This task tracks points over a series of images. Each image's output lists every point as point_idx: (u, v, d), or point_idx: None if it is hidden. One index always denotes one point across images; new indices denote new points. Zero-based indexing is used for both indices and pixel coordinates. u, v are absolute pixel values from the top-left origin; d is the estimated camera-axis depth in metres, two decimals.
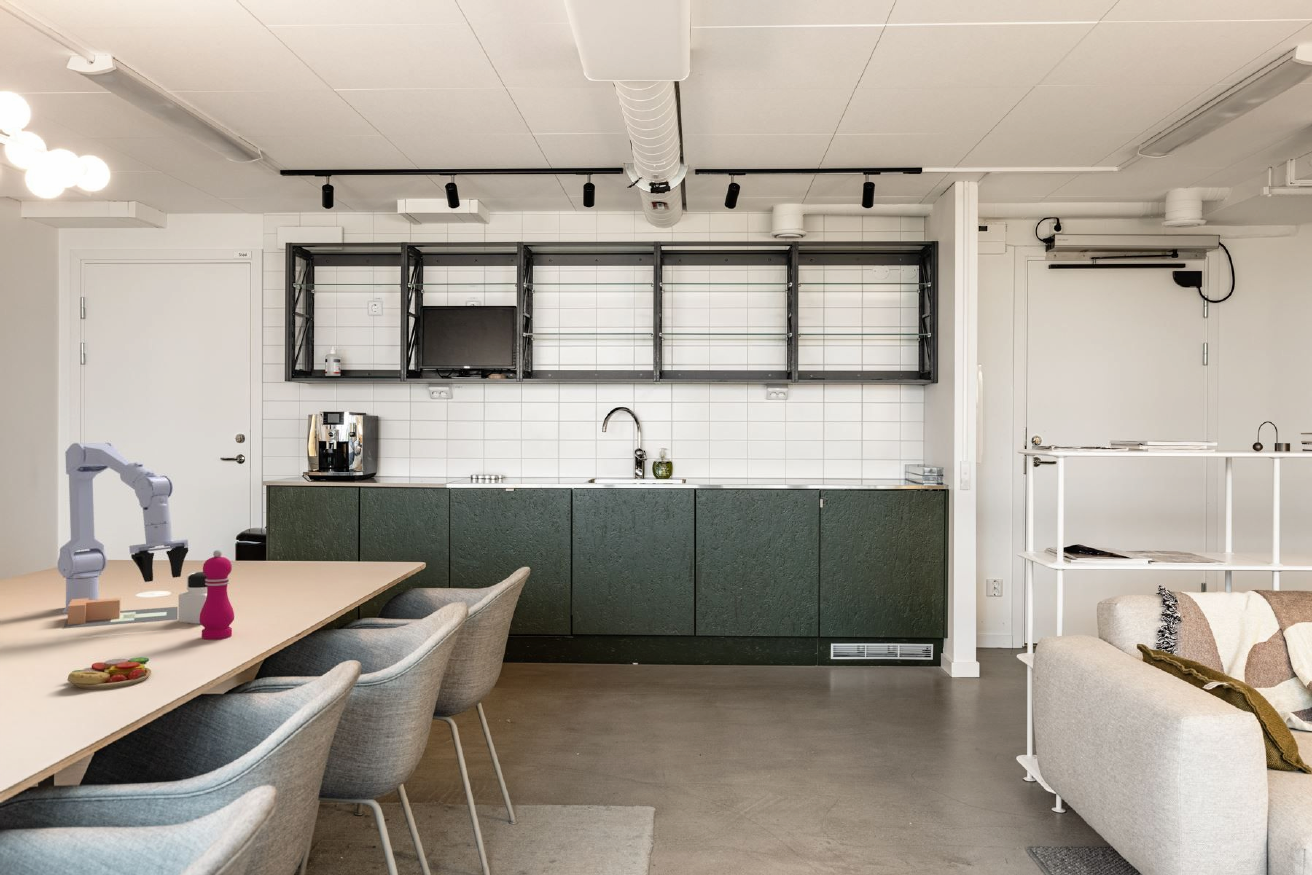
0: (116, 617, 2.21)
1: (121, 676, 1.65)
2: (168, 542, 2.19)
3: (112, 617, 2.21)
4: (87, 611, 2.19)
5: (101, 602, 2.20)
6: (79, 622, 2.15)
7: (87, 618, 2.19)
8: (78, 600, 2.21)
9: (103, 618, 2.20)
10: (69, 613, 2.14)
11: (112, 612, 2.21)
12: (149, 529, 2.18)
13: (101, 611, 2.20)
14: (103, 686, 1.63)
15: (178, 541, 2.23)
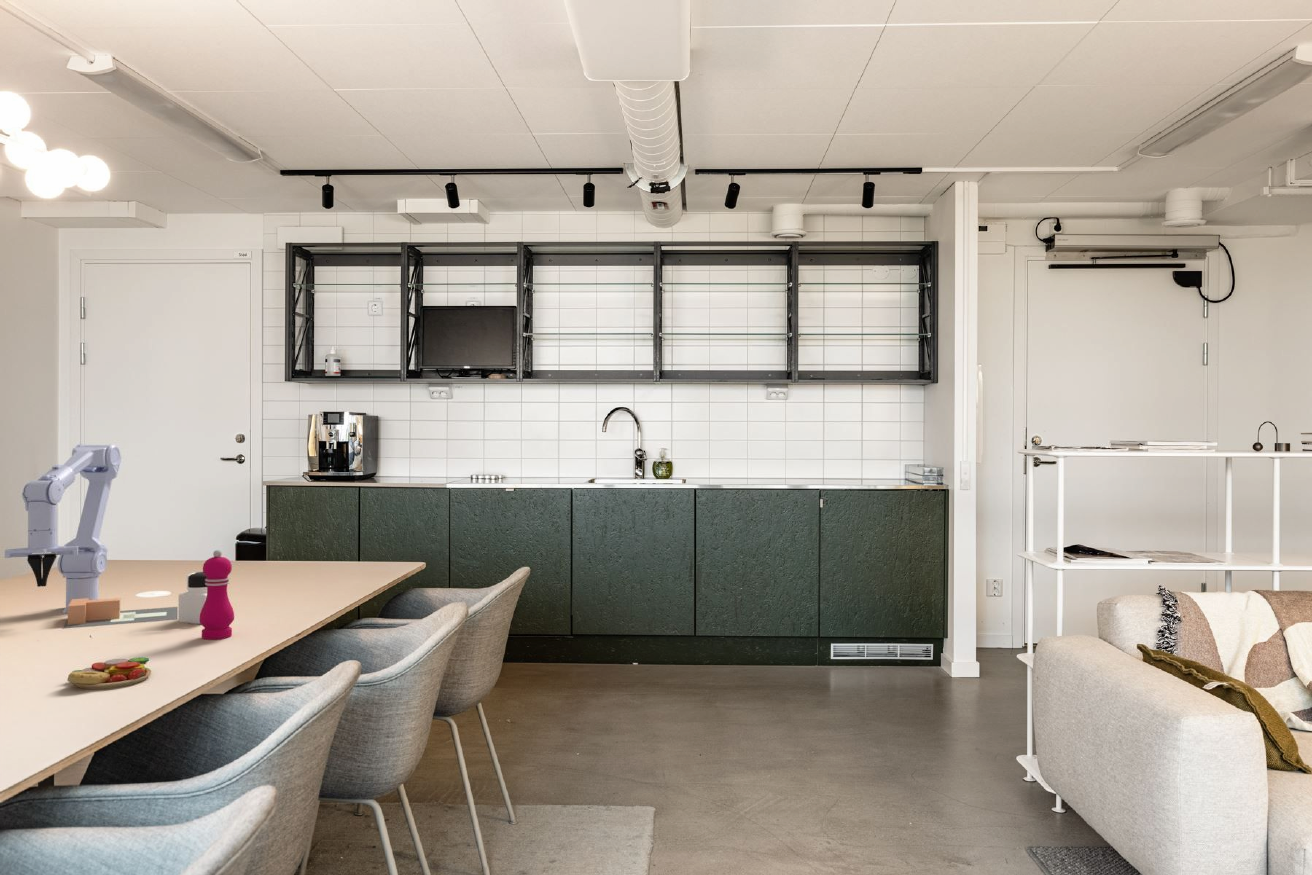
0: (116, 617, 2.21)
1: (121, 676, 1.65)
2: (37, 551, 2.12)
3: (112, 617, 2.21)
4: (87, 611, 2.19)
5: (101, 602, 2.20)
6: (79, 622, 2.15)
7: (87, 618, 2.19)
8: (78, 600, 2.21)
9: (103, 618, 2.20)
10: (69, 613, 2.14)
11: (112, 612, 2.21)
12: (28, 534, 2.14)
13: (101, 611, 2.20)
14: (103, 686, 1.63)
15: (60, 549, 2.16)
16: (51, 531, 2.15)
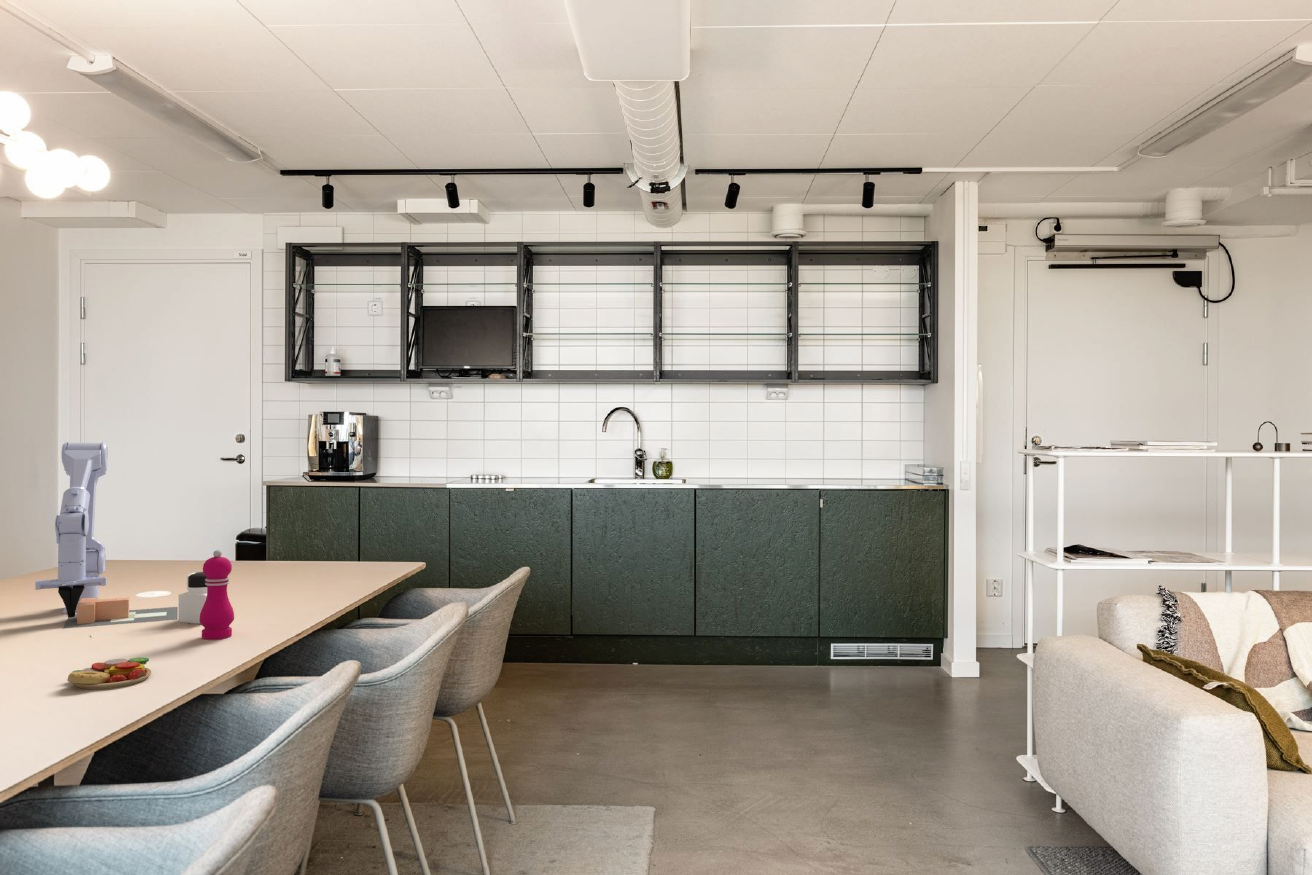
0: (125, 616, 2.22)
1: (121, 676, 1.65)
2: (67, 583, 2.15)
3: (121, 616, 2.22)
4: (96, 610, 2.19)
5: (110, 601, 2.21)
6: (88, 621, 2.16)
7: (96, 617, 2.19)
8: (87, 599, 2.22)
9: (112, 617, 2.21)
10: (78, 612, 2.15)
11: (121, 612, 2.22)
12: (58, 566, 2.17)
13: (110, 610, 2.21)
14: (103, 686, 1.63)
15: (89, 580, 2.19)
16: (80, 563, 2.18)
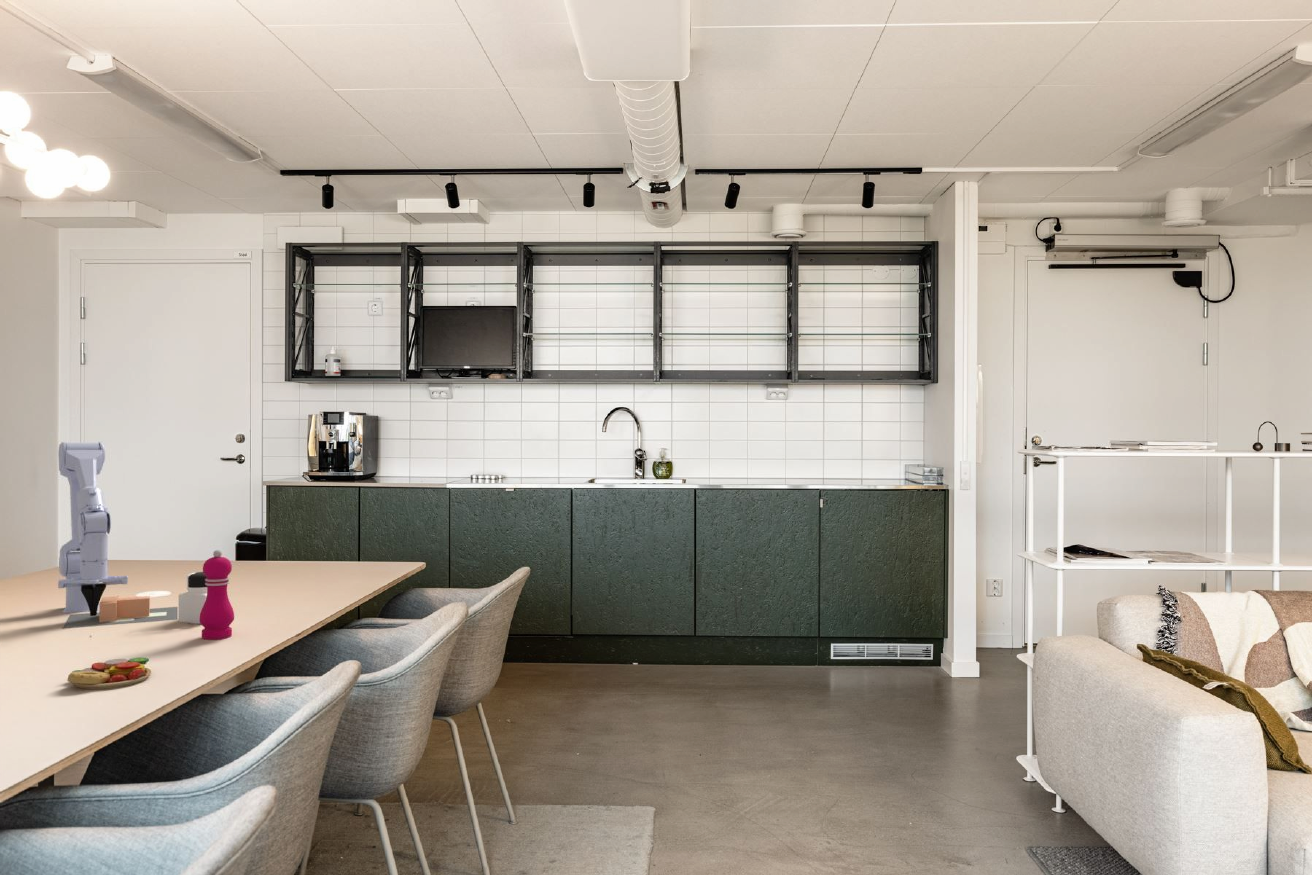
0: (146, 615, 2.24)
1: (121, 676, 1.65)
2: (89, 582, 2.17)
3: (142, 615, 2.24)
4: (118, 609, 2.22)
5: (131, 600, 2.23)
6: (110, 620, 2.18)
7: (118, 616, 2.22)
8: (109, 598, 2.24)
9: (133, 616, 2.23)
10: (101, 611, 2.17)
11: (142, 610, 2.24)
12: (80, 565, 2.19)
13: (131, 609, 2.23)
14: (103, 686, 1.63)
15: (111, 579, 2.21)
16: (103, 561, 2.20)
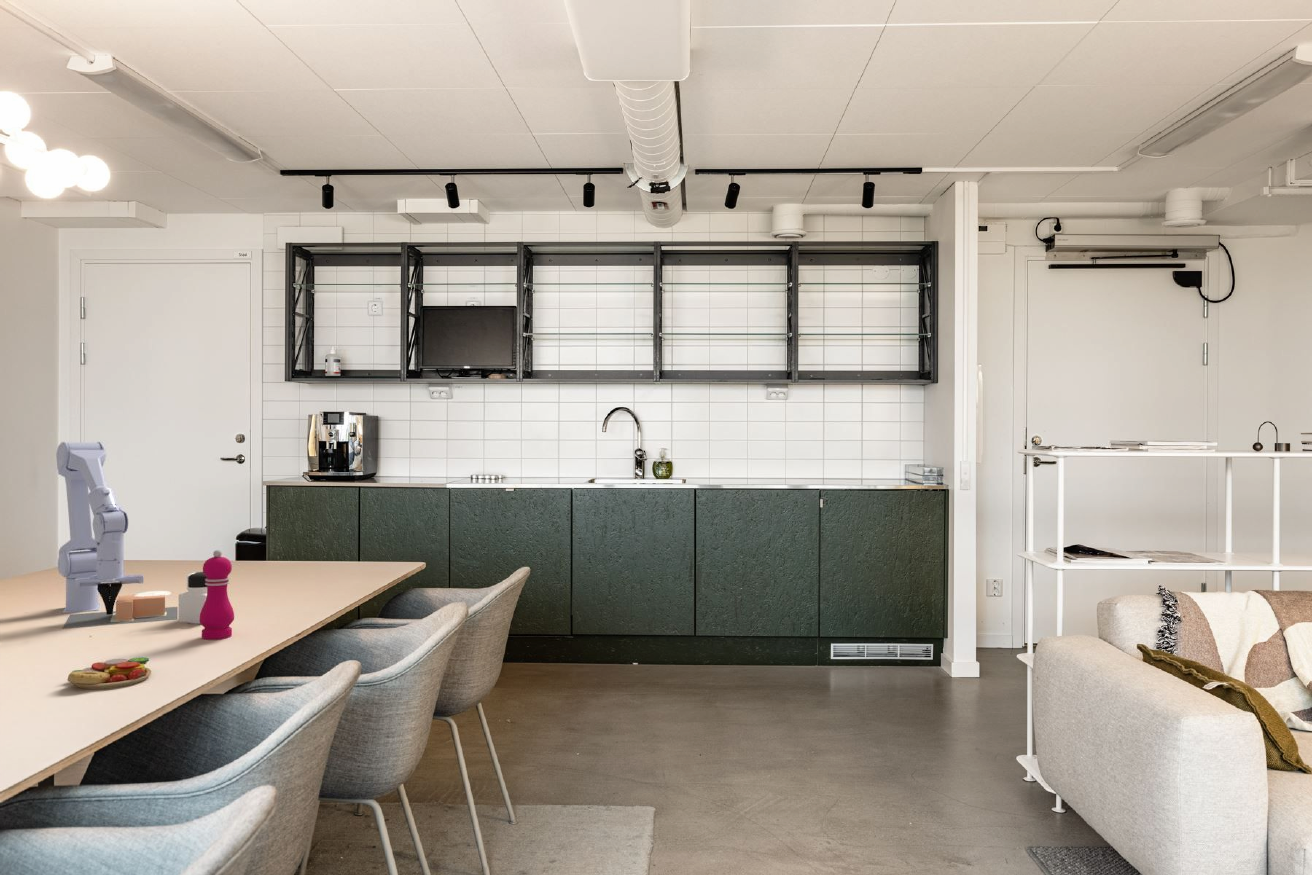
0: (162, 614, 2.26)
1: (121, 676, 1.65)
2: (106, 581, 2.18)
3: (158, 614, 2.26)
4: (134, 608, 2.23)
5: (147, 599, 2.25)
6: (127, 618, 2.20)
7: (134, 614, 2.23)
8: (124, 597, 2.26)
9: (149, 615, 2.25)
10: (117, 609, 2.19)
11: (157, 609, 2.26)
12: (97, 564, 2.20)
13: (147, 608, 2.25)
14: (103, 686, 1.63)
15: (127, 578, 2.22)
16: (119, 561, 2.21)
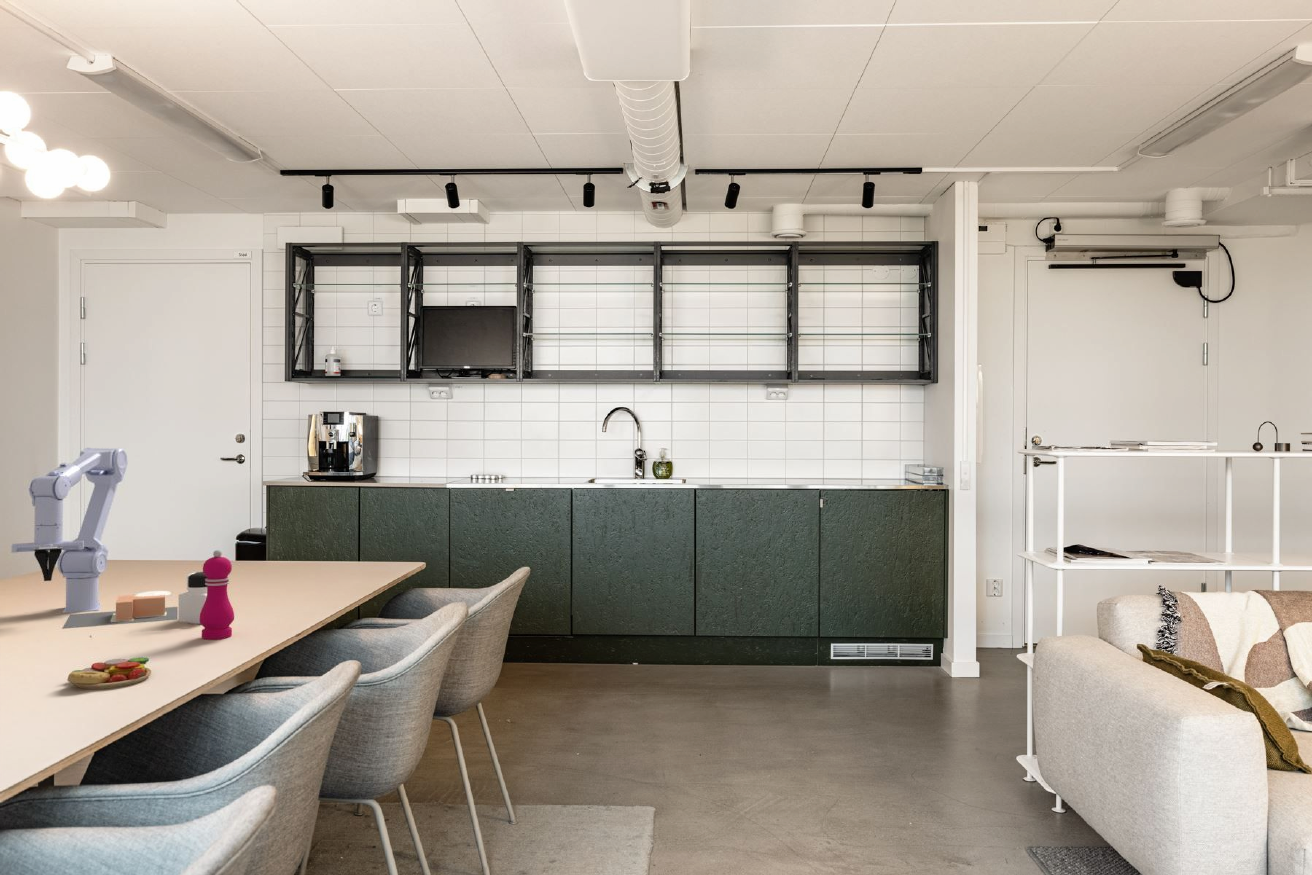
0: (162, 614, 2.26)
1: (121, 676, 1.65)
2: (43, 546, 2.14)
3: (158, 614, 2.26)
4: (134, 608, 2.23)
5: (147, 599, 2.25)
6: (127, 618, 2.20)
7: (134, 614, 2.23)
8: (124, 597, 2.26)
9: (149, 615, 2.25)
10: (117, 609, 2.19)
11: (157, 609, 2.26)
12: (34, 529, 2.16)
13: (147, 608, 2.25)
14: (103, 686, 1.63)
15: (66, 544, 2.19)
16: (57, 526, 2.18)
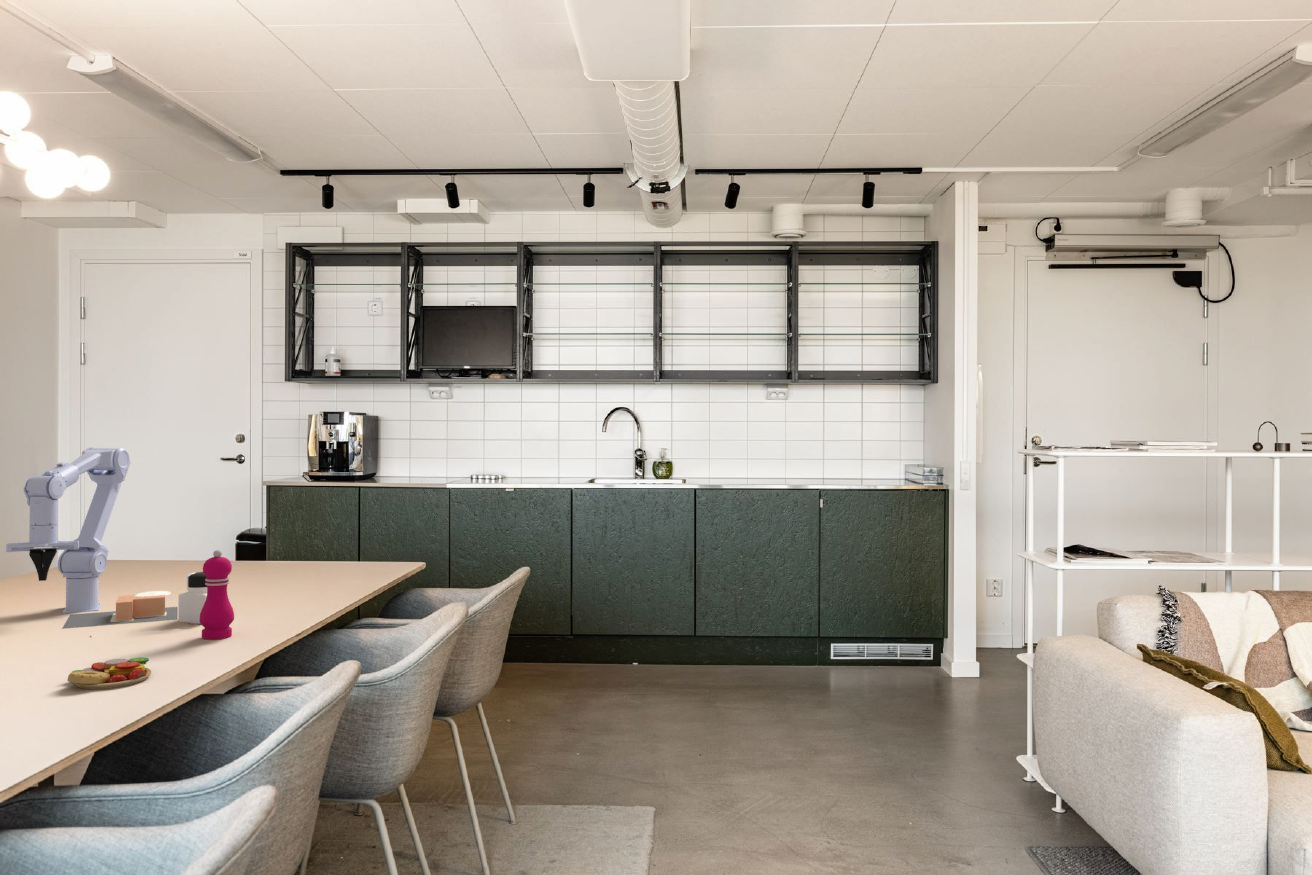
0: (162, 614, 2.26)
1: (121, 676, 1.65)
2: (38, 545, 2.14)
3: (158, 614, 2.26)
4: (134, 608, 2.23)
5: (147, 599, 2.25)
6: (127, 618, 2.20)
7: (134, 614, 2.23)
8: (124, 597, 2.26)
9: (149, 615, 2.25)
10: (117, 609, 2.19)
11: (157, 609, 2.26)
12: (29, 529, 2.16)
13: (147, 608, 2.25)
14: (103, 686, 1.63)
15: (61, 544, 2.18)
16: (52, 526, 2.17)
